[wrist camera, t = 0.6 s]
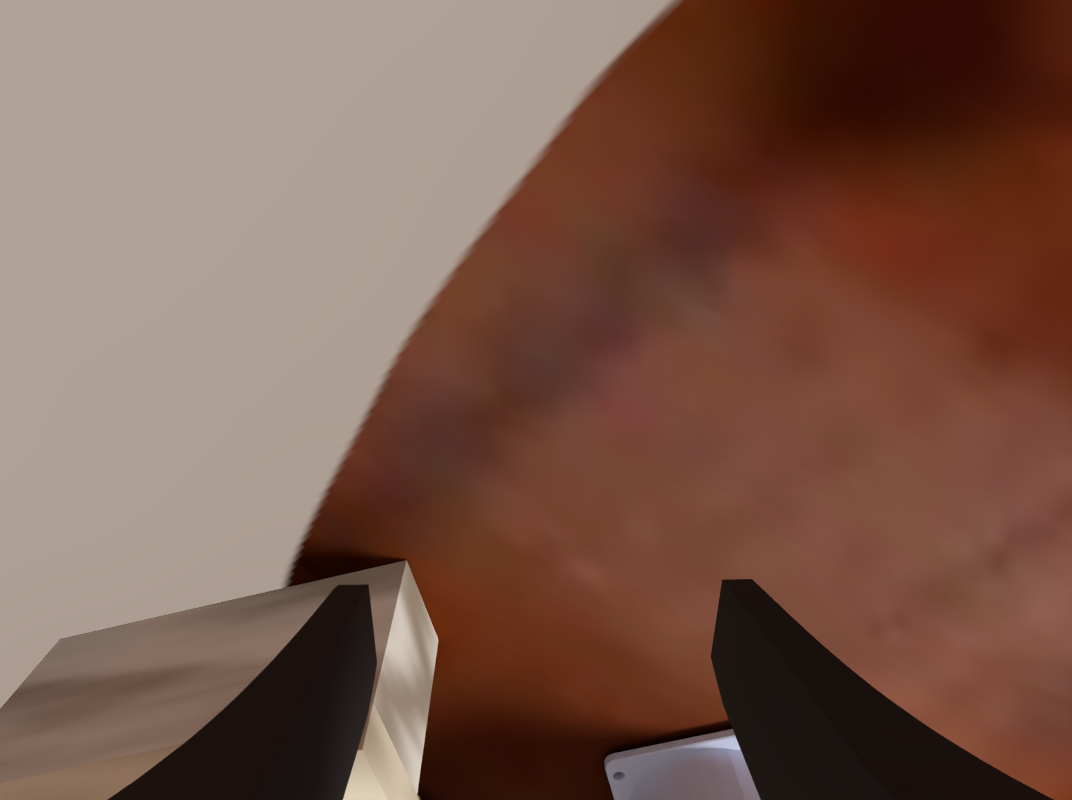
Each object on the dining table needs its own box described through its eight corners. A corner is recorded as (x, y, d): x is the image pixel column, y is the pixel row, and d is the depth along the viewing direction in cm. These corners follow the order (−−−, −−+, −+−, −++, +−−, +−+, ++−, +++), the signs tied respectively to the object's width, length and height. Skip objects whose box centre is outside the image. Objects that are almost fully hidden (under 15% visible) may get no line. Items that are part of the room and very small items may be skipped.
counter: (466, 710, 28) (451, 924, 20) (156, 776, 29) (34, 1004, 21) (406, 560, 24) (362, 749, 17) (60, 639, 25) (-123, 851, 18)
